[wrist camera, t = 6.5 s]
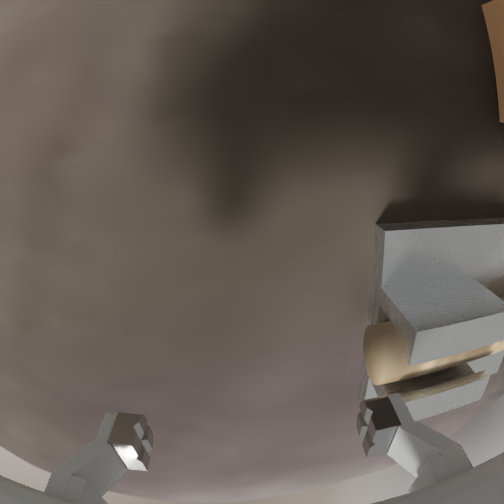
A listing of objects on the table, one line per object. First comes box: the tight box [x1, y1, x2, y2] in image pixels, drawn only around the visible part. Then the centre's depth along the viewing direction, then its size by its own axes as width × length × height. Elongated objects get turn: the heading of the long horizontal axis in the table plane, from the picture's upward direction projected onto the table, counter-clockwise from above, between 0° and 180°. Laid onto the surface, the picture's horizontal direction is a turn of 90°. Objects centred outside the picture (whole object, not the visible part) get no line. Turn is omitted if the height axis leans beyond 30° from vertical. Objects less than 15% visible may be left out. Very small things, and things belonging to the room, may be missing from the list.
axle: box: [363, 298, 504, 385], centre depth 15 cm, size 14×3×3 cm, turn 95°
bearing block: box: [358, 218, 504, 421], centre depth 15 cm, size 12×12×6 cm
